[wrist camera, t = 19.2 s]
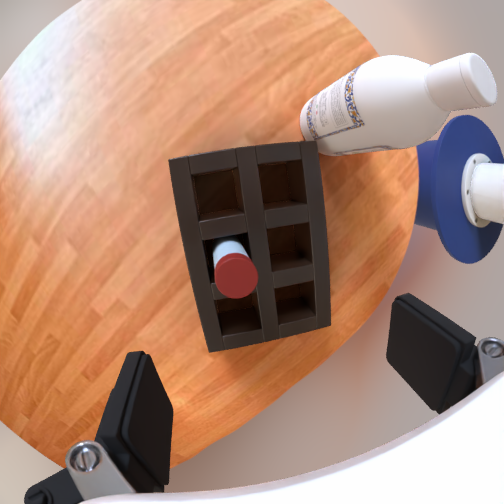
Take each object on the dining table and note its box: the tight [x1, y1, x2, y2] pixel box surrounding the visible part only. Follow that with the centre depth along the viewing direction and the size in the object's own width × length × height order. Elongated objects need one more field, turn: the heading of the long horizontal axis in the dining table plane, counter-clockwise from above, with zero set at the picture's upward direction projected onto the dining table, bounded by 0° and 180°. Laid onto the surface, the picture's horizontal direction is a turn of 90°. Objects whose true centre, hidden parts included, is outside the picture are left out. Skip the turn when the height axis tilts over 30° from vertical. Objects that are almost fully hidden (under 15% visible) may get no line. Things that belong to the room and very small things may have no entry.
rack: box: [168, 140, 331, 353], centre depth 26 cm, size 12×18×5 cm
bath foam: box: [300, 53, 497, 156], centre depth 17 cm, size 7×7×20 cm
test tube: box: [212, 235, 258, 298], centre depth 23 cm, size 3×3×10 cm
